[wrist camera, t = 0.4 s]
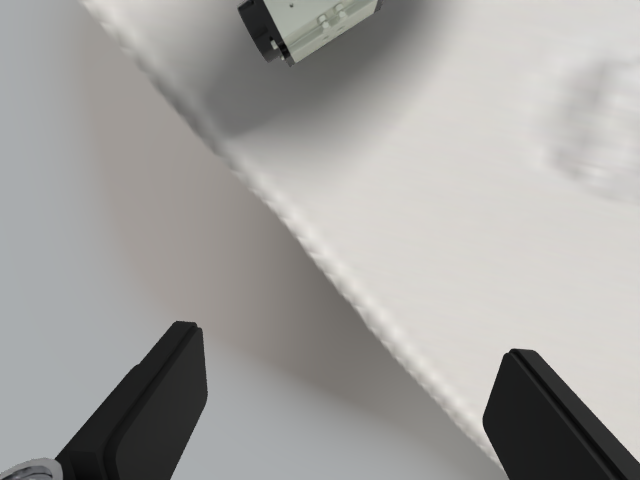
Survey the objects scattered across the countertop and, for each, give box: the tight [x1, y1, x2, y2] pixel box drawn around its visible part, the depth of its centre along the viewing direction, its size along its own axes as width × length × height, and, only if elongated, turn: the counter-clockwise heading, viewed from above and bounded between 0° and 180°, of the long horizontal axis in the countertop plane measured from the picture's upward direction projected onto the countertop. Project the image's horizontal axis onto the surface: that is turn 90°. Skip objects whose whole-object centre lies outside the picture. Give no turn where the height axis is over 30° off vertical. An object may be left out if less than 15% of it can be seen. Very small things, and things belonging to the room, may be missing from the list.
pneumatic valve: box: [237, 0, 383, 67], centre depth 25 cm, size 6×12×12 cm, turn 119°
